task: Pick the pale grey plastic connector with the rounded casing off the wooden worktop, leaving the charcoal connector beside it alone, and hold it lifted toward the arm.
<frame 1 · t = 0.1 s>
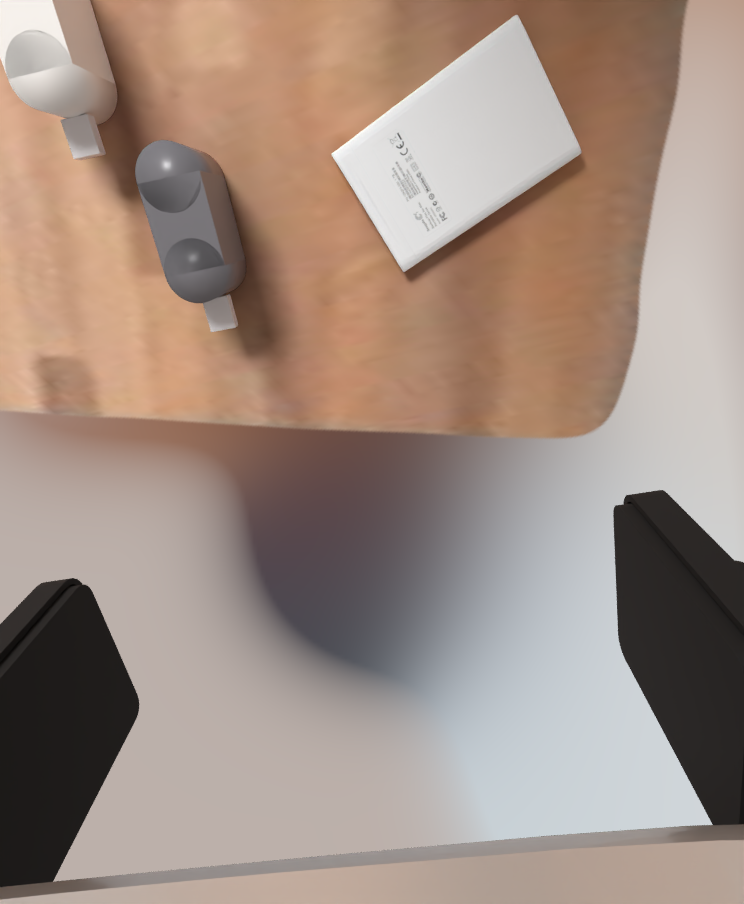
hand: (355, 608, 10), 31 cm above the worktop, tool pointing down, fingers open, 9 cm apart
external hard drive: (453, 155, 36), on the worktop
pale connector: (71, 41, 34), on the worktop
charcoal connector: (208, 224, 37), on the worktop
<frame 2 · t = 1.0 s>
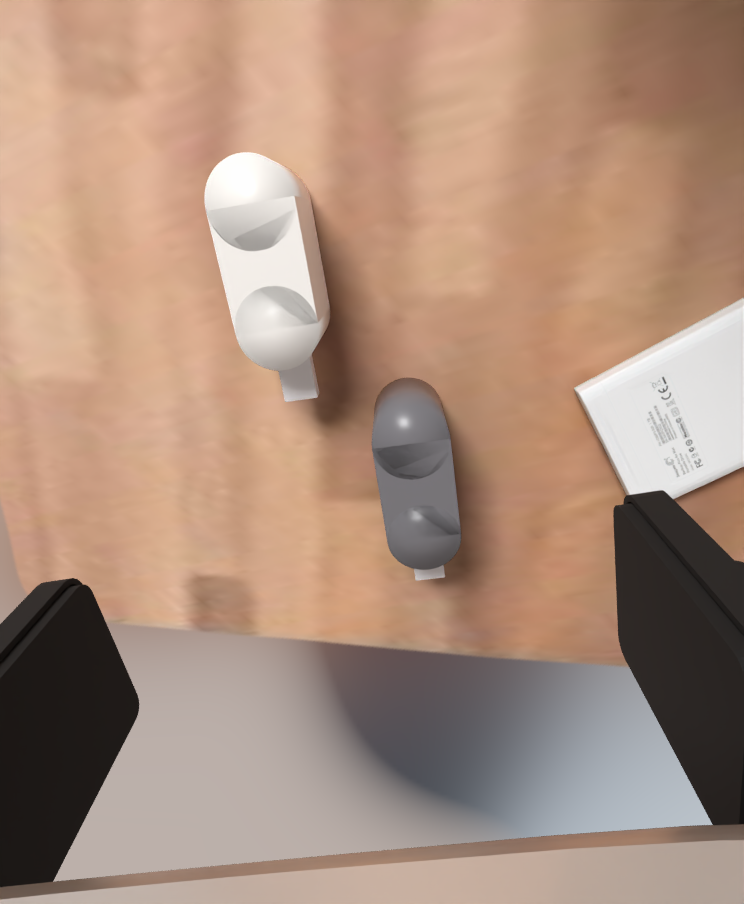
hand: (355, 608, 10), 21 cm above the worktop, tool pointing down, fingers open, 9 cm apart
external hard drive: (709, 391, 31), on the worktop
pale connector: (284, 260, 28), on the worktop
charcoal connector: (413, 453, 32), on the worktop
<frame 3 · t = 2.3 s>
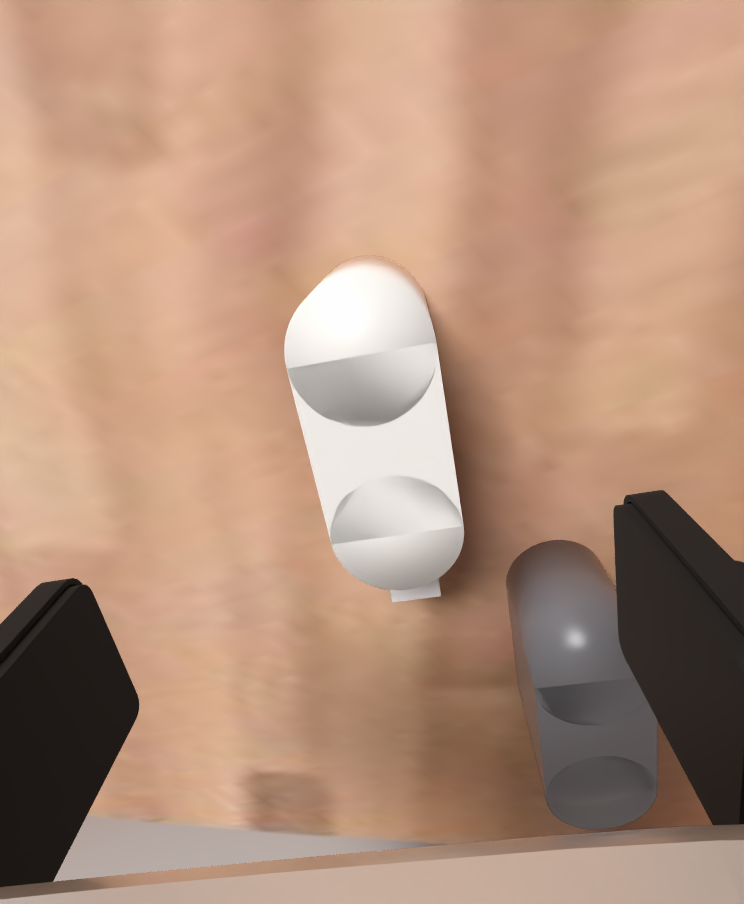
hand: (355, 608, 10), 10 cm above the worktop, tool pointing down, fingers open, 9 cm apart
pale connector: (384, 390, 19), on the worktop
charcoal connector: (558, 632, 23), on the worktop
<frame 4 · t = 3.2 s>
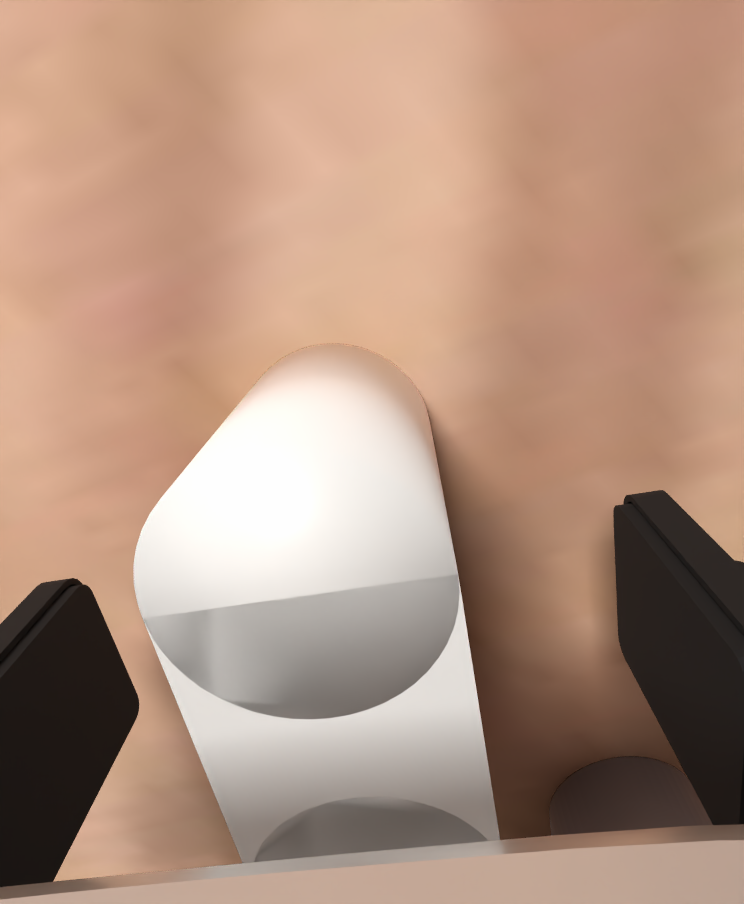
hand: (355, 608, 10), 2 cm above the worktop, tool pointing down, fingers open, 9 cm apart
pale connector: (361, 549, 12), on the worktop
charcoal connector: (624, 873, 15), on the worktop
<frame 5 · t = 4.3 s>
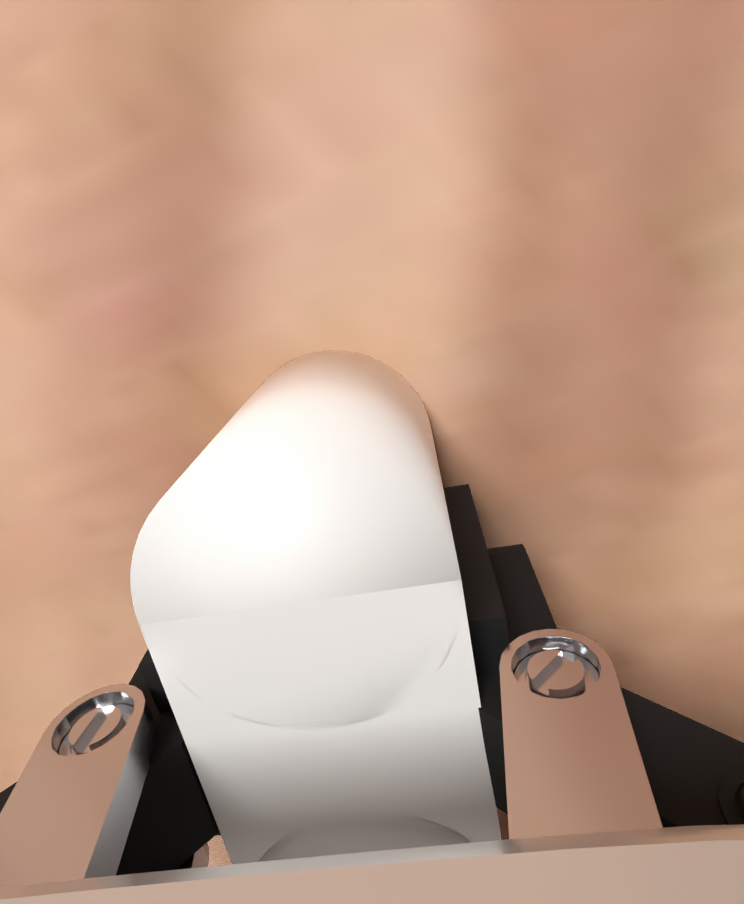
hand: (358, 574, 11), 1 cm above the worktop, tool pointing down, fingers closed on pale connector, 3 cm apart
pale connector: (362, 559, 12), on the worktop, touching gripper
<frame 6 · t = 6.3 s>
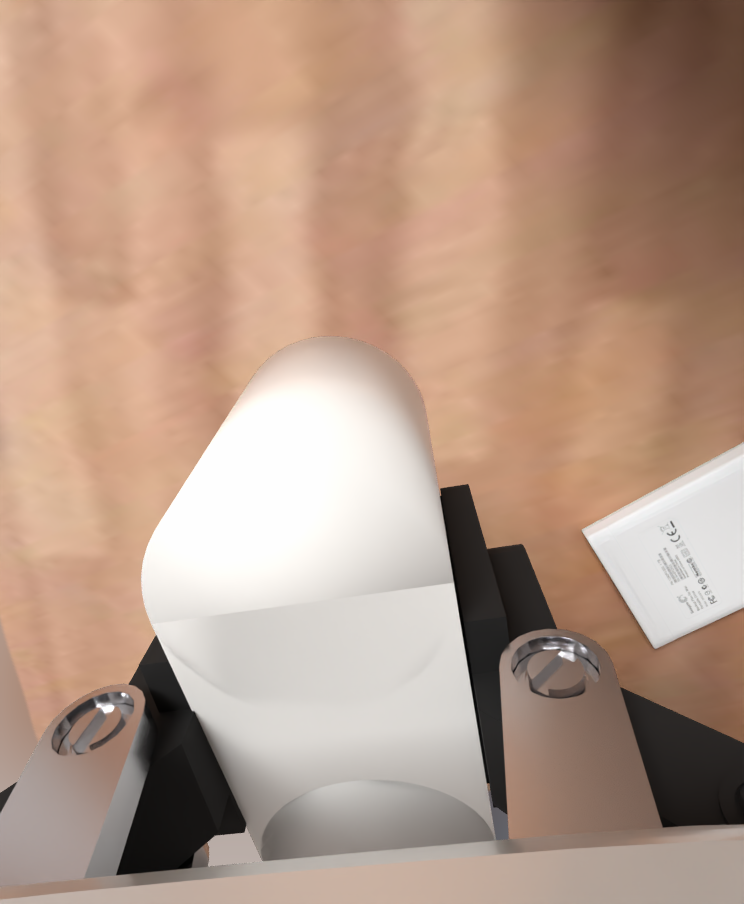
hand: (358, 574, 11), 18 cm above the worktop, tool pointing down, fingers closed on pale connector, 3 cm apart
external hard drive: (719, 524, 31), on the worktop
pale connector: (359, 534, 12), point 16 cm above the worktop, tilted 6°, touching gripper
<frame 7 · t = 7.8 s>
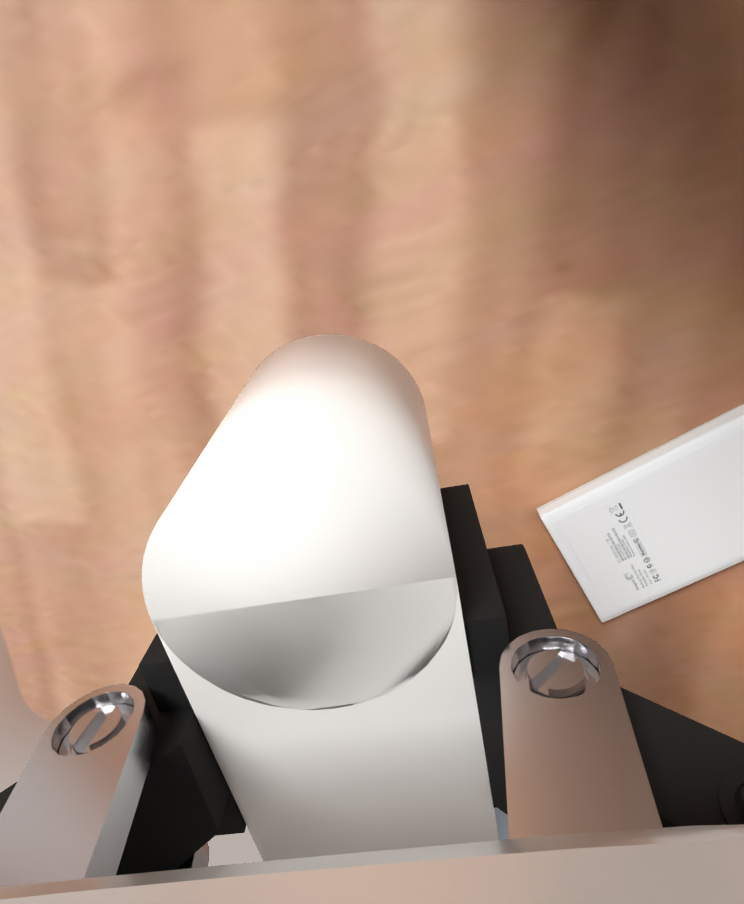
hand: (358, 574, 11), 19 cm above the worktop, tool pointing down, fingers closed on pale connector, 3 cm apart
external hard drive: (666, 508, 32), on the worktop
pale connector: (359, 533, 12), point 18 cm above the worktop, touching gripper
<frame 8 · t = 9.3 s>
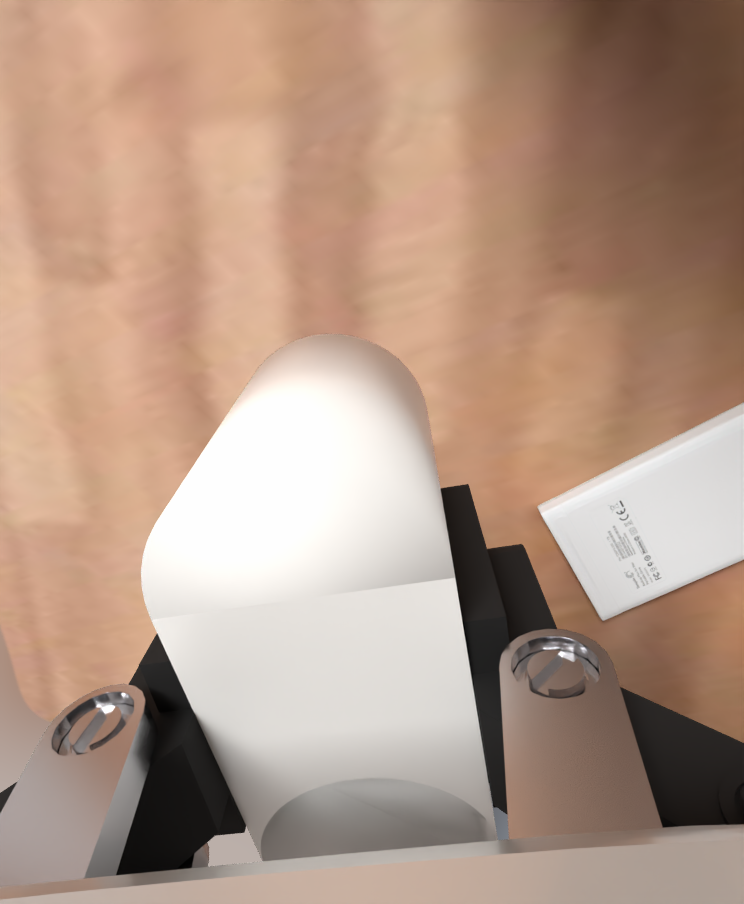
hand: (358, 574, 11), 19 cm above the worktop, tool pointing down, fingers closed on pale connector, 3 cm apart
external hard drive: (667, 506, 32), on the worktop
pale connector: (360, 533, 12), point 18 cm above the worktop, touching gripper
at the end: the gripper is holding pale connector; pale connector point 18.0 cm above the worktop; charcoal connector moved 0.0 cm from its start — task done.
